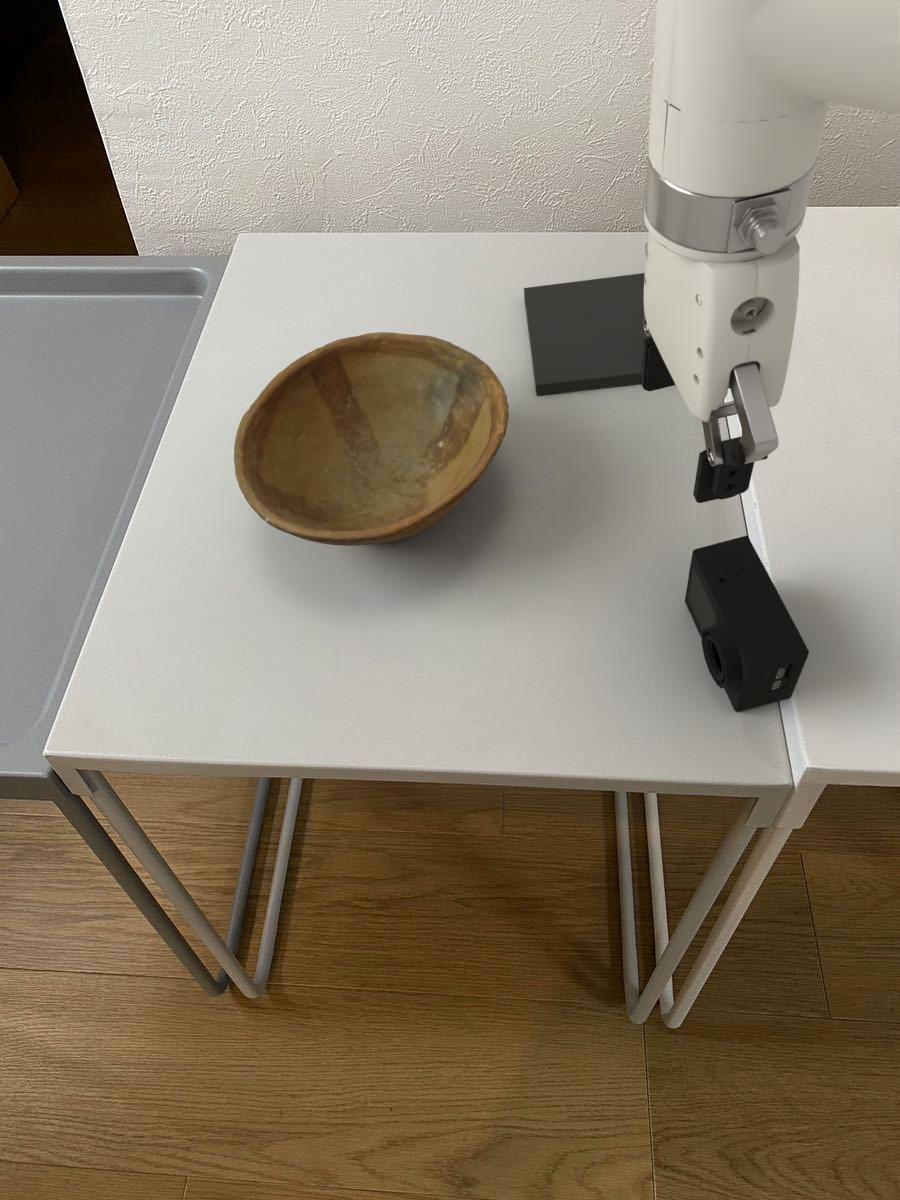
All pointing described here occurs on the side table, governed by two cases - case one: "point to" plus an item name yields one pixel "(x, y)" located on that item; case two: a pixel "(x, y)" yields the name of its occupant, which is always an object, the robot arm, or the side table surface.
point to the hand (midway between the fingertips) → (691, 436)
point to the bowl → (369, 438)
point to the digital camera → (743, 625)
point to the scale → (586, 333)
